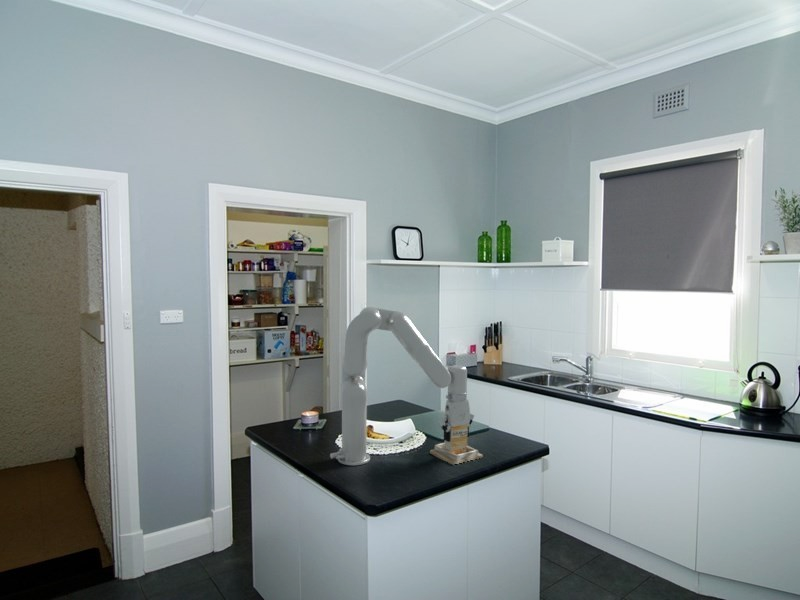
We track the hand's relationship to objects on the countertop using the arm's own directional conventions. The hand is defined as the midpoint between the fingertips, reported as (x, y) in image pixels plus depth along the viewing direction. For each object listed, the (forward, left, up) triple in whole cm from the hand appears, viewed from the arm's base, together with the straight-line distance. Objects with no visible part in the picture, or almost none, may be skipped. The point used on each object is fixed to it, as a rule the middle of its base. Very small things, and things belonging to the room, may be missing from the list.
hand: (456, 438), depth 201 cm
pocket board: (0, 0, -7) cm, 7 cm away
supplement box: (0, 0, -6) cm, 6 cm away
